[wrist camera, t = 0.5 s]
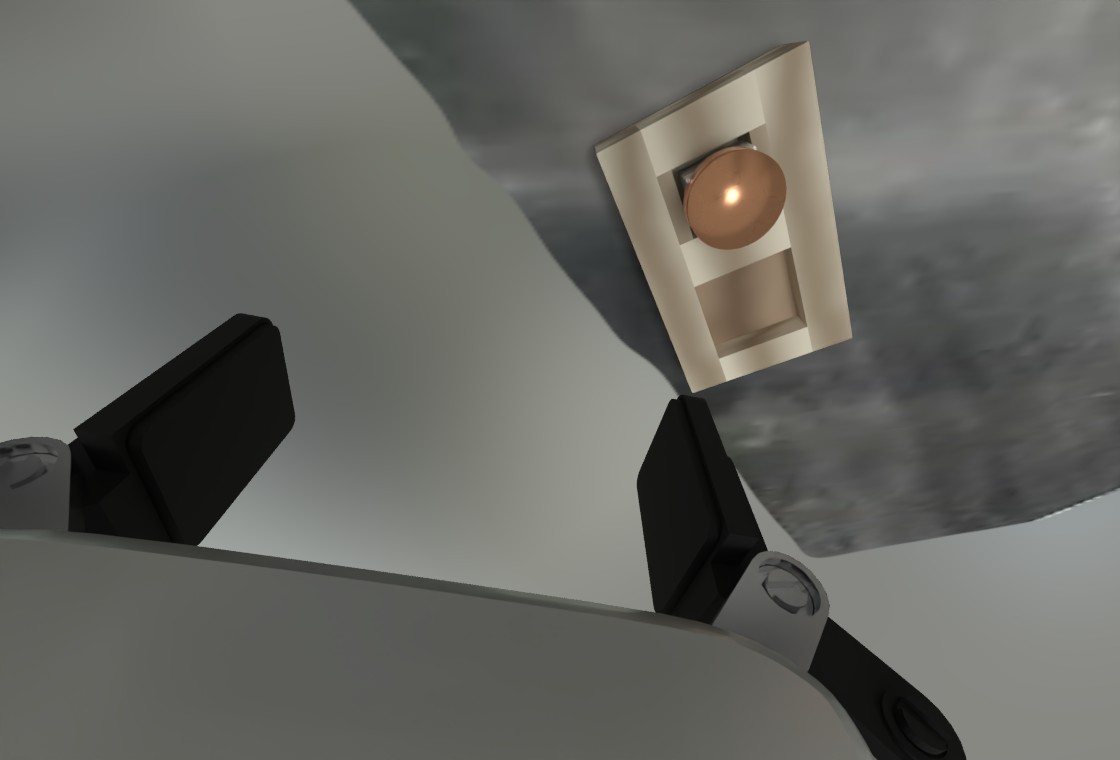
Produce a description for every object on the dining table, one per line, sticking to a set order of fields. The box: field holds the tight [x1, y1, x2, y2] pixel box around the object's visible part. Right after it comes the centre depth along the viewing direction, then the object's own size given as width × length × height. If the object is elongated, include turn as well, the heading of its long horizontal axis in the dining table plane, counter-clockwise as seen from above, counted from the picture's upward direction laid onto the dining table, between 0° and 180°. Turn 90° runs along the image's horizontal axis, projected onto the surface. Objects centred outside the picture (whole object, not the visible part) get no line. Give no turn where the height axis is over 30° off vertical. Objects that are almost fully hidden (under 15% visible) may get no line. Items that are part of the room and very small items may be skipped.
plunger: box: [677, 140, 787, 250], centre depth 28 cm, size 6×6×4 cm
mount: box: [594, 41, 852, 393], centre depth 34 cm, size 13×21×4 cm, turn 26°
